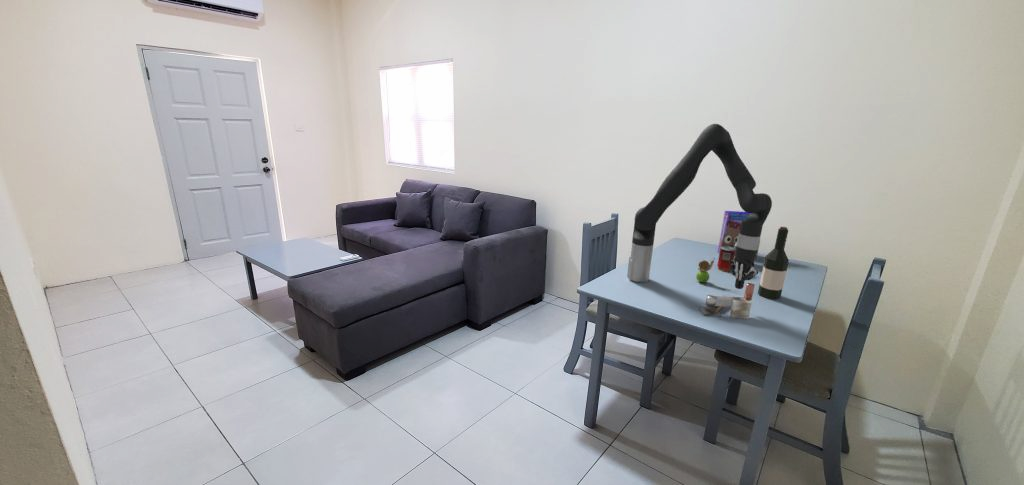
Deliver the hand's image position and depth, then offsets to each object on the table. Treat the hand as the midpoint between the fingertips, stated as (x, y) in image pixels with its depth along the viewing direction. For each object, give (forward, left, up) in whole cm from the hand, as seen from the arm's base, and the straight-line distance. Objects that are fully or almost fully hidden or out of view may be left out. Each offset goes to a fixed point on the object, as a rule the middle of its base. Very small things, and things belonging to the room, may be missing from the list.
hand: (738, 288), depth 160 cm
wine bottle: (+20, +14, -8) cm, 26 cm away
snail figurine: (-3, +26, -8) cm, 28 cm away
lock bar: (-6, -6, -5) cm, 10 cm away
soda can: (+14, +45, -8) cm, 48 cm away
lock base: (-7, -2, -8) cm, 11 cm away
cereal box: (+31, +72, -9) cm, 79 cm away
